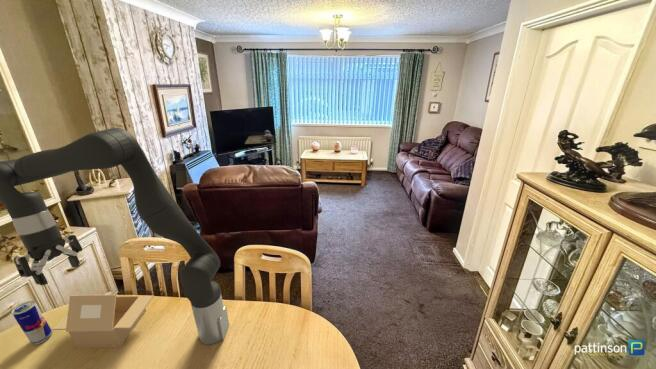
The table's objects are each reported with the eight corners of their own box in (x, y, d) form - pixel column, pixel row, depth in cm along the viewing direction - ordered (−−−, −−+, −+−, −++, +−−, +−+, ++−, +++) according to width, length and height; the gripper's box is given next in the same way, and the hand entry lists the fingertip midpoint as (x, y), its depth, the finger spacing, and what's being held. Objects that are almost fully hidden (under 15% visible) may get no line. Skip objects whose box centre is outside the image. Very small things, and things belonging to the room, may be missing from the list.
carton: (159, 310, 97) (154, 294, 94) (136, 346, 84) (128, 328, 81) (95, 311, 96) (87, 295, 93) (60, 347, 83) (50, 330, 80)
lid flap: (116, 294, 82) (115, 295, 82) (112, 330, 81) (111, 330, 80) (71, 295, 81) (69, 295, 81) (67, 330, 80) (65, 331, 79)
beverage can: (39, 347, 83) (18, 315, 77) (27, 343, 84) (6, 311, 78) (57, 333, 88) (39, 301, 82) (45, 330, 89) (27, 298, 83)
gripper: (14, 239, 65) (42, 291, 70) (74, 216, 79) (94, 261, 83) (-7, 240, 67) (21, 291, 71) (55, 218, 80) (76, 261, 85)
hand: (60, 275), depth 77 cm, fingers open, 8 cm apart
